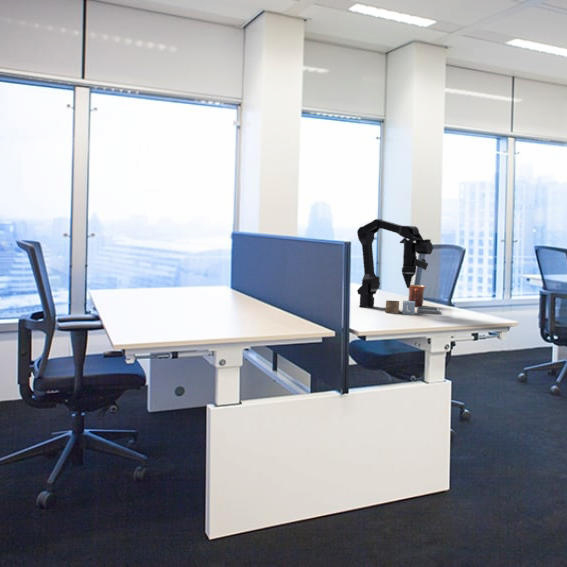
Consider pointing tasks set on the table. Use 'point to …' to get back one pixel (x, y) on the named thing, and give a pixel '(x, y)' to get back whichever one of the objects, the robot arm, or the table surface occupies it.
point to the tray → (427, 310)
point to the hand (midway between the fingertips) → (408, 286)
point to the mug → (416, 294)
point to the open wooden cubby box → (392, 306)
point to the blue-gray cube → (408, 307)
